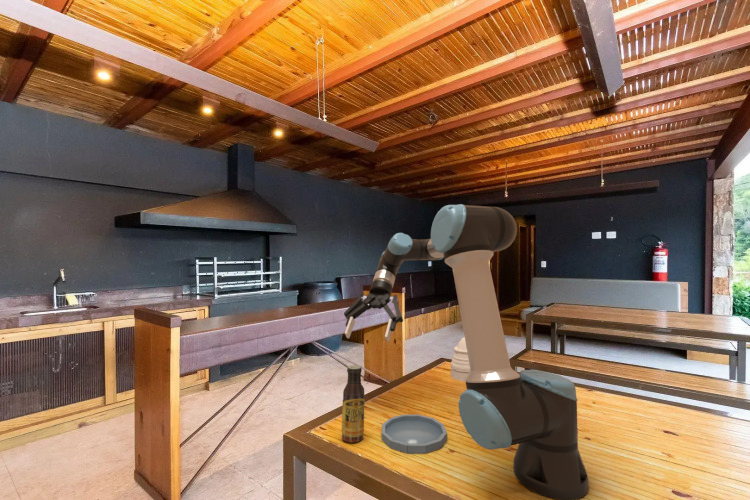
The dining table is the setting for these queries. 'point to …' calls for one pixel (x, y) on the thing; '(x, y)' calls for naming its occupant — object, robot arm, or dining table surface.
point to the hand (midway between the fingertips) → (366, 337)
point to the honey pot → (460, 362)
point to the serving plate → (414, 434)
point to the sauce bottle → (353, 406)
